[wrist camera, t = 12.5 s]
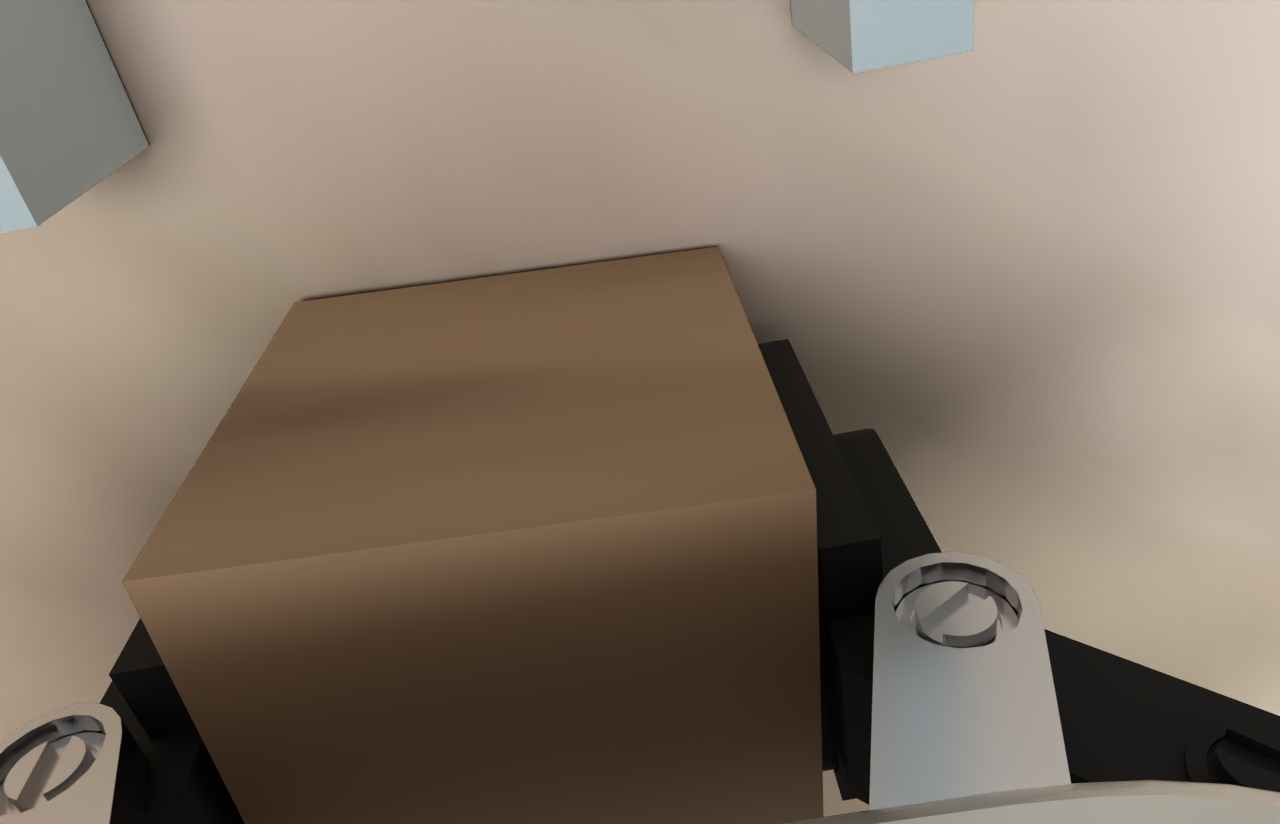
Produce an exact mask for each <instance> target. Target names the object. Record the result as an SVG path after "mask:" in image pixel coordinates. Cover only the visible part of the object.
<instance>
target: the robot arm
mask: <svg viewBox="0 0 1280 824" xmlns="http://www.w3.org/2000/svg"><path fill="white" fill-rule="evenodd" d="M758 347H759V349H760V352H761V354H762V357H763V359H764V361H765V364H766V366H767V369H768V371H769V374H770V376H771V379H772V381H773V384H774V386H775V389H776V391H777V394H778V396H779V399H780V401H781V404H782V406H783V409H784V411H785V414H786V416H787V419H788V421H789V424H790V426H791V429H792V431H793V434H794V436H795V439H796V441H797V444H798V446H799V449H800V451H801V454H802V456H803V459H804V461H805V464H806V466H807V468H808V471H809V473H810V476H811V478H812V481H813V483H814V486H815V488H816V511H817V556H818V601H819V646H820V691H821V735H822V771H826V770H832V769H833V770H834V773H835V776H836V780H837V783H838V787H839V790H840V793H841V797H842V800H849V799H855V798H857V799H859V800H861V801H863V802H865V803H867V804H868V805H869V810H868V811H861V812H855V813H848V814H841V815H834V816H828V817H821V818H815V819H809V820H803V821H797V822H791V823H785V824H1280V716H1278V715H1275V714H1273V713H1270V712H1267V711H1264V710H1262V709H1259V708H1256V707H1254V706H1251V705H1248V704H1245V703H1243V702H1240V701H1237V700H1235V699H1232V698H1229V697H1227V696H1224V695H1221V694H1218V693H1216V692H1213V691H1210V690H1208V689H1205V688H1202V687H1199V686H1197V685H1194V684H1191V683H1189V682H1186V681H1183V680H1181V679H1178V678H1175V677H1172V676H1170V675H1167V674H1164V673H1162V672H1159V671H1156V670H1153V669H1151V668H1148V667H1145V666H1143V665H1140V664H1137V663H1134V662H1132V661H1129V660H1126V659H1124V658H1121V657H1118V656H1116V655H1113V654H1110V653H1107V652H1105V651H1102V650H1099V649H1097V648H1094V647H1091V646H1088V645H1086V644H1083V643H1080V642H1078V641H1075V640H1072V639H1070V638H1067V637H1064V636H1061V635H1059V634H1056V633H1053V632H1051V631H1048V630H1045V629H1044V624H1043V619H1042V613H1041V607H1040V604H1039V601H1038V599H1037V597H1036V594H1035V592H1034V589H1033V588H1032V587H1031V586H1030V585H1029V584H1028V583H1027V581H1026V580H1025V579H1024V578H1023V577H1022V576H1021V575H1020V574H1019V573H1017V572H1016V571H1014V570H1012V569H1010V568H1009V567H1007V566H1005V565H1004V564H1002V563H1000V562H998V561H995V560H992V559H989V558H986V557H983V556H980V555H976V554H968V553H959V552H943V553H942V552H941V550H940V548H939V546H938V545H937V543H936V541H935V539H934V537H933V535H932V534H931V532H930V530H929V528H928V526H927V524H926V523H925V521H924V519H923V517H922V515H921V513H920V512H919V510H918V508H917V506H916V504H915V502H914V500H913V499H912V497H911V495H910V493H909V491H908V489H907V488H906V486H905V484H904V482H903V480H902V478H901V477H900V475H899V473H898V471H897V469H896V467H895V466H894V464H893V462H892V460H891V458H890V456H889V455H888V453H887V451H886V449H885V447H884V445H883V443H882V442H881V440H880V438H879V436H878V435H877V433H876V432H875V431H874V430H873V429H871V428H869V429H863V430H858V431H852V432H847V433H841V434H836V435H833V434H832V432H831V430H830V428H829V426H828V423H827V421H826V419H825V417H824V415H823V413H822V411H821V408H820V406H819V404H818V402H817V400H816V398H815V396H814V393H813V391H812V389H811V387H810V385H809V383H808V380H807V378H806V376H805V374H804V372H803V370H802V368H801V365H800V363H799V361H798V359H797V357H796V355H795V353H794V350H793V348H792V346H791V344H790V342H789V340H788V339H785V340H780V341H774V342H769V343H763V344H758ZM109 676H110V677H111V679H112V682H111V684H110V686H109V688H108V689H107V691H106V693H105V695H104V697H103V698H102V700H101V702H100V704H99V703H83V704H74V705H71V706H67V707H63V708H60V709H56V710H53V711H51V712H49V713H47V714H44V715H42V716H40V717H38V718H36V719H34V720H31V721H29V722H28V723H26V724H25V725H23V726H22V727H20V728H19V729H17V730H16V731H14V732H12V733H11V734H9V735H8V736H6V737H5V738H4V739H3V740H2V741H1V742H0V824H245V823H244V821H243V819H242V817H241V815H240V813H239V811H238V809H237V807H236V805H235V803H234V801H233V799H232V797H231V795H230V793H229V791H228V789H227V787H226V785H225V784H224V782H223V780H222V778H221V776H220V774H219V772H218V770H217V768H216V766H215V764H214V762H213V760H212V758H211V756H210V754H209V752H208V750H207V748H206V746H205V744H204V742H203V740H202V738H201V736H200V734H199V732H198V730H197V728H196V726H195V724H194V722H193V720H192V718H191V716H190V714H189V712H188V710H187V708H186V706H185V704H184V702H183V700H182V698H181V696H180V694H179V693H178V691H177V689H176V687H175V685H174V683H173V681H172V679H171V677H170V675H169V673H168V671H167V669H166V667H165V665H164V663H163V661H162V659H161V657H160V655H159V653H158V651H157V649H156V647H155V645H154V643H153V641H152V639H151V637H150V635H149V633H148V631H147V629H146V627H145V625H144V623H143V621H142V619H141V618H140V620H139V622H138V623H137V625H136V627H135V629H134V631H133V632H132V634H131V636H130V638H129V640H128V641H127V643H126V645H125V647H124V649H123V650H122V652H121V654H120V656H119V657H118V659H117V661H116V663H115V665H114V666H113V668H112V670H111V672H110V674H109Z"/></svg>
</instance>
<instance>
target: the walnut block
mask: <svg viewBox="0 0 1280 824" xmlns="http://www.w3.org/2000/svg"><path fill="white" fill-rule="evenodd" d="M123 584H124V586H125V588H126V590H127V592H128V594H129V596H130V598H131V600H132V602H133V604H134V605H135V607H136V609H137V611H138V613H139V615H140V617H141V619H142V621H143V623H144V625H145V627H146V629H147V631H148V633H149V635H150V637H151V639H152V641H153V643H154V645H155V647H156V649H157V651H158V653H159V655H160V657H161V659H162V661H163V663H164V665H165V667H166V669H167V671H168V673H169V675H170V677H171V679H172V681H173V683H174V685H175V687H176V689H177V691H178V693H179V694H180V696H181V698H182V700H183V702H184V704H185V706H186V708H187V710H188V712H189V714H190V716H191V718H192V720H193V722H194V724H195V726H196V728H197V730H198V732H199V734H200V736H201V738H202V740H203V742H204V744H205V746H206V748H207V750H208V752H209V754H210V756H211V758H212V760H213V762H214V764H215V766H216V768H217V770H218V772H219V774H220V776H221V778H222V780H223V782H224V784H225V785H226V787H227V789H228V791H229V793H230V795H231V797H232V799H233V801H234V803H235V805H236V807H237V809H238V811H239V813H240V815H241V817H242V819H243V821H244V823H245V824H785V823H791V822H797V821H803V820H809V819H815V818H821V817H823V780H822V735H821V691H820V646H819V601H818V556H817V511H816V488H815V486H814V483H813V481H812V478H811V476H810V473H809V471H808V468H807V466H806V464H805V461H804V459H803V456H802V454H801V451H800V449H799V446H798V444H797V441H796V439H795V436H794V434H793V431H792V429H791V426H790V424H789V421H788V419H787V416H786V414H785V411H784V409H783V406H782V404H781V401H780V399H779V396H778V394H777V391H776V389H775V386H774V384H773V381H772V379H771V376H770V374H769V371H768V369H767V366H766V364H765V361H764V359H763V357H762V354H761V352H760V349H759V347H758V344H757V342H756V339H755V337H754V334H753V332H752V329H751V327H750V324H749V322H748V319H747V317H746V314H745V312H744V309H743V307H742V304H741V302H740V299H739V297H738V294H737V292H736V289H735V287H734V284H733V282H732V279H731V277H730V274H729V272H728V269H727V267H726V264H725V262H724V259H723V257H722V254H721V252H720V249H719V247H711V248H704V249H696V250H688V251H681V252H673V253H666V254H658V255H650V256H643V257H635V258H628V259H620V260H613V261H605V262H597V263H590V264H582V265H575V266H567V267H559V268H552V269H544V270H537V271H529V272H521V273H514V274H506V275H499V276H491V277H484V278H476V279H468V280H461V281H453V282H446V283H438V284H430V285H423V286H415V287H408V288H400V289H392V290H385V291H377V292H370V293H362V294H354V295H347V296H339V297H332V298H324V299H317V300H309V301H301V302H295V303H294V305H293V306H292V308H291V310H290V311H289V313H288V314H287V316H286V318H285V319H284V321H283V323H282V324H281V326H280V327H279V329H278V331H277V332H276V334H275V336H274V337H273V339H272V340H271V342H270V344H269V345H268V347H267V348H266V350H265V352H264V353H263V355H262V357H261V358H260V360H259V361H258V363H257V365H256V366H255V368H254V370H253V371H252V373H251V374H250V376H249V378H248V379H247V381H246V382H245V384H244V386H243V387H242V389H241V391H240V392H239V394H238V395H237V397H236V399H235V400H234V402H233V404H232V405H231V407H230V408H229V410H228V412H227V413H226V415H225V416H224V418H223V420H222V421H221V423H220V425H219V426H218V428H217V429H216V431H215V433H214V434H213V436H212V437H211V439H210V441H209V442H208V444H207V446H206V447H205V449H204V450H203V452H202V454H201V455H200V457H199V459H198V460H197V462H196V463H195V465H194V467H193V468H192V470H191V471H190V473H189V475H188V476H187V478H186V480H185V481H184V483H183V484H182V486H181V488H180V489H179V491H178V493H177V494H176V496H175V497H174V499H173V501H172V502H171V504H170V505H169V507H168V509H167V510H166V512H165V514H164V515H163V517H162V518H161V520H160V522H159V523H158V525H157V527H156V528H155V530H154V531H153V533H152V535H151V536H150V538H149V539H148V541H147V543H146V544H145V546H144V548H143V549H142V551H141V552H140V554H139V556H138V557H137V559H136V561H135V562H134V564H133V565H132V567H131V569H130V570H129V572H128V573H127V575H126V577H125V578H124V580H123Z"/></svg>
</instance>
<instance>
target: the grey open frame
mask: <svg viewBox="0 0 1280 824" xmlns="http://www.w3.org/2000/svg"><path fill="white" fill-rule="evenodd" d="M790 2H791V14H792V25H794V26H795V27H796V28H797V29H799V30H800V31H801V32H802V33H803V34H805V35H806V36H807V37H808V38H810V39H811V40H812V41H813V42H815V43H816V44H817V45H818V46H820V47H821V48H822V49H823V50H824V51H826V52H827V53H828V54H829V55H831V56H832V57H833V58H834V59H836V60H837V61H838V62H839V63H840V64H842V65H843V66H844V67H845V68H847V69H848V70H849V71H850V72H852V73H859V72H864V71H869V70H875V69H880V68H885V67H891V66H896V65H901V64H907V63H912V62H917V61H923V60H928V59H933V58H939V57H944V56H949V55H955V54H960V53H965V52H971V51H973V36H974V0H790ZM148 147H149V144H148V142H147V140H146V137H145V135H144V133H143V131H142V128H141V126H140V124H139V122H138V119H137V117H136V115H135V112H134V110H133V108H132V106H131V103H130V101H129V99H128V97H127V94H126V92H125V90H124V87H123V85H122V83H121V81H120V78H119V76H118V74H117V71H116V69H115V67H114V65H113V62H112V60H111V58H110V56H109V53H108V51H107V49H106V46H105V44H104V42H103V40H102V37H101V35H100V33H99V31H98V28H97V26H96V24H95V21H94V19H93V17H92V15H91V12H90V10H89V8H88V6H87V3H86V1H85V0H0V233H5V232H11V231H16V230H21V229H27V228H32V227H37V226H39V225H40V224H42V223H43V222H44V221H46V220H47V219H49V218H50V217H51V216H53V215H54V214H56V213H57V212H58V211H60V210H61V209H63V208H64V207H65V206H67V205H68V204H70V203H71V202H72V201H74V200H75V199H77V198H78V197H79V196H81V195H82V194H84V193H85V192H86V191H88V190H89V189H91V188H92V187H93V186H95V185H96V184H97V183H99V182H100V181H102V180H103V179H104V178H106V177H107V176H109V175H110V174H111V173H113V172H114V171H116V170H117V169H118V168H120V167H121V166H123V165H124V164H125V163H127V162H128V161H130V160H131V159H132V158H134V157H135V156H137V155H138V154H139V153H141V152H142V151H144V150H145V149H146V148H148Z"/></svg>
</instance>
